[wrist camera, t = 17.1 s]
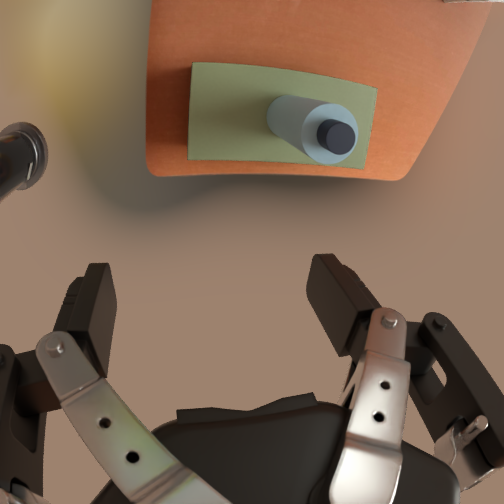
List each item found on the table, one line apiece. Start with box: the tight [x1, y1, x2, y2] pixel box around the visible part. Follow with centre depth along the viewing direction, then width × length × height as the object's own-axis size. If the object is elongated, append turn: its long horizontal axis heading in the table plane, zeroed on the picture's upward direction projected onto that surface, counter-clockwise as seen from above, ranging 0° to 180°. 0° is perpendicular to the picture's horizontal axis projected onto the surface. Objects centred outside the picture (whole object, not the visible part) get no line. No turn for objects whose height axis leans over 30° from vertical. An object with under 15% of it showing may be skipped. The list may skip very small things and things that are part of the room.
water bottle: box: [266, 95, 358, 164], centre depth 29 cm, size 6×6×14 cm
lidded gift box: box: [187, 62, 378, 169], centre depth 38 cm, size 24×12×8 cm, turn 85°
